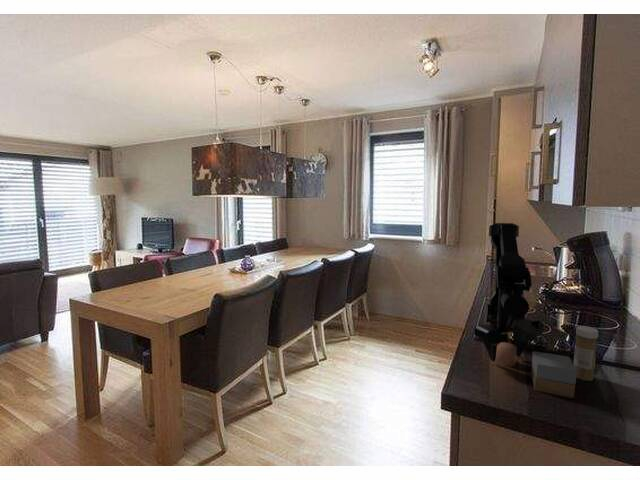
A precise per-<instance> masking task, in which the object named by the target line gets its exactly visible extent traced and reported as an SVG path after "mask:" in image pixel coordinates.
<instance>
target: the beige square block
mask: <svg viewBox="0 0 640 480" xmlns="http://www.w3.org/2000/svg"><path fill="white" fill-rule="evenodd" d="M531 380H532V385H533V389H534V391H537V392H543V393H546V394H551V395H556V396H560V397H566V398H570V399H574V398H575V390H576V385H574V384H569V383H563V382H558V381H552V380H547V379H541V378H536V375H535V372H534V369H533V366H531Z"/></svg>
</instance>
